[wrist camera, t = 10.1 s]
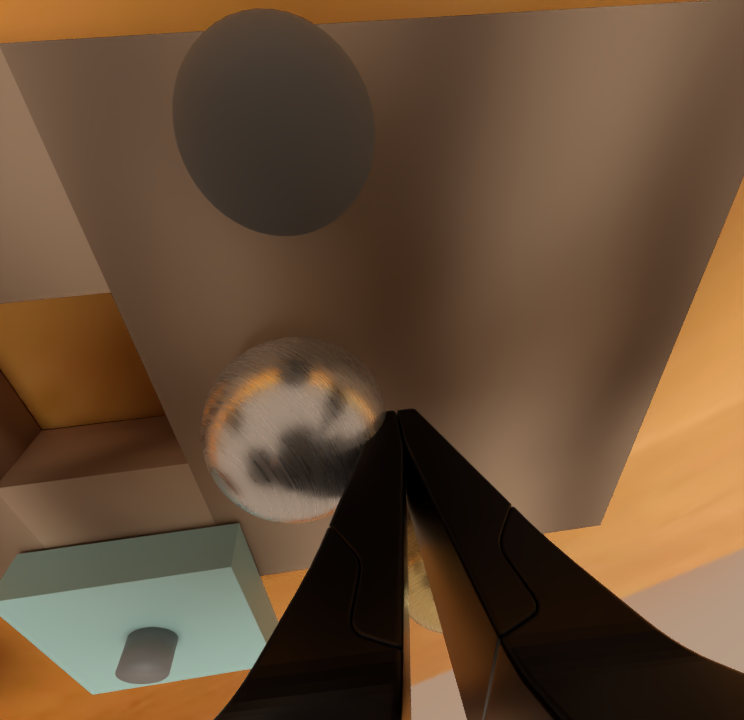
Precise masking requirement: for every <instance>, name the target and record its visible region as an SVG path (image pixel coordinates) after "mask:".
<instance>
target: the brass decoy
mask: <svg viewBox="0 0 744 720" xmlns="http://www.w3.org/2000/svg"><path fill="white" fill-rule="evenodd" d="M407 529H408V579H409V617H410V618H411V619H412V620H414V621H415V622H416V623H417V624H419V625H421V626H423V627H424V628H426V629H428V630H431V631H434V632H437V633H443V631H442V628H441V624H440V621H439V617H438V614H437V610H436V606H435V603H434V599H433V596H432V592H431V588H430V585H429V581H428V578H427V574H426V571H425V567H424V563H423V560H422V556H421V553H420V549H419V545H418V542H417V538H416V535H415V531H414V528H413V524H412V520H411V518H410V519H409V520H407Z"/></svg>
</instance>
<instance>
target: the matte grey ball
mask: <svg viewBox="0 0 744 720" xmlns="http://www.w3.org/2000/svg"><path fill="white" fill-rule="evenodd" d="M172 117H173V127H174V133H175V137H176V142H177V146H178V149H179V152H180V155H181V157H182V160H183V162H184V164H185V166H186V169H187V171H188V173H189V175H190V176H191V178H192V179H193V181H194V183H195V184H196V186H197V187H198V188H199V190H200V191H201V192H202V193H203V195H204V196H205V197H206V198H207V199H208V200H209V201H210V202H211V203H212V204H213V206H214V207H216V208H217V209H218V210H219V211H220V212H222V213H223V214H224V215H225V216H227V217H228V218H230V219H231V220H233V221H234V222H236V223H238V224H240V225H242V226H244V227H246V228H248V229H251V230H254V231H256V232H259V233H263V234H268V235H274V236H297V235H303V234H307V233H310V232H314V231H317V230H319V229H321V228H323V227H325V226H327V225H329V224H330V223H332V222H333V221H335V220H336V219H337V218H339V217H340V216H341V215H342V214H343V213H344V212H345V211H346V210H347V209H348V208H349V207H350V206H351V205H352V204H353V202H354V201H355V200H356V198H357V197H358V195H359V194H360V192H361V190H362V188H363V186H364V184H365V182H366V180H367V177H368V175H369V172H370V169H371V165H372V160H373V155H374V147H375V124H374V115H373V110H372V106H371V101H370V98H369V95H368V92H367V89H366V86H365V84H364V82H363V80H362V78H361V76H360V73H359V71H358V70H357V68H356V67H355V65H354V63H353V62H352V60H351V59H350V57H349V56H348V55H347V53H346V52H345V51H344V50H343V48H342V47H341V46H340V45H339V44H338V43H337V42H336V41H335V40H334V39H333V38H332V37H331V36H330V35H329V34H327V33H326V32H325V31H323V30H322V29H321V28H319V27H318V26H317V25H315V24H313V23H311V22H310V21H308V20H306V19H304V18H302V17H300V16H297V15H294V14H291V13H289V12H285V11H280V10H275V9H251V10H244V11H240V12H237V13H234V14H231V15H228V16H226V17H224V18H223V19H221V20H219V21H217V22H215V23H214V24H213V25H212V26H210V27H209V28H208V29H207V30H205V31H204V32H203V33H202V34H201V35H200V36H199V37H198V38H197V40H196V41H195V42H194V43H193V44H192V46H191V47H190V49H189V50H188V52H187V54H186V55H185V57H184V59H183V62H182V64H181V66H180V68H179V71H178V74H177V78H176V82H175V85H174V93H173V100H172Z"/></svg>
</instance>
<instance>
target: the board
mask: <svg viewBox="0 0 744 720" xmlns="http://www.w3.org/2000/svg"><path fill="white" fill-rule="evenodd" d="M315 25H317V26H318V27H319V28H321V29H322V30H323V31H325V32H326V33H327V34H329V35H330V36H331V37H332V38H333V39H334V40H335V41H336V42H337V43H338V44H339V45H340V46H341V47H342V48H343V50H344V51H345V52H346V53H347V55H348V56H349V57H350V59H351V60H352V62H353V63H354V65H355V67H356V68H357V70H358V71H359V73H360V76H361V78H362V80H363V82H364V84H365V86H366V89H367V92H368V95H369V98H370V101H371V106H372V110H373V115H374V124H375V147H374V155H373V160H372V165H371V169H370V172H369V175H368V177H367V180H366V182H365V184H364V186H363V188H362V190H361V192H360V194H359V195H358V197H357V198H356V200H355V201H354V202H353V204H352V205H351V206H350V207H349V208H348V209H347V210H346V211H345V212H344V213H343V214H342V215H341V216H340V217H339V218H337V219H336V220H335V221H333V222H332V223H330V224H329V225H327V226H325V227H323V228H321V229H319V230H317V231H314V232H310V233H307V234H303V235H297V236H274V235H268V234H263V233H259V232H256V231H254V230H251V229H248V228H246V227H244V226H242V225H240V224H238V223H236V222H234V221H233V220H231V219H230V218H228V217H227V216H225V215H224V214H223V213H222V212H220V211H219V210H218V209H217V208H216V207H214V206H213V204H212V203H211V202H210V201H209V200H208V199H207V198H206V197H205V196H204V195H203V193H202V192H201V191H200V190H199V188H198V187H197V186H196V184H195V183H194V181H193V179H192V178H191V176H190V175H189V173H188V171H187V169H186V166H185V164H184V162H183V160H182V157H181V155H180V152H179V149H178V146H177V142H176V137H175V133H174V127H173V117H172V100H173V93H174V85H175V82H176V78H177V74H178V71H179V68H180V66H181V64H182V62H183V59H184V57H185V55H186V54H187V52H188V50H189V49H190V47H191V46H192V44H193V43H194V42H195V41H196V40H197V38H198V37H199V36H200V35H201V34H202V33H203V32H204V31H197V32H181V33H164V34H148V35H131V36H115V37H98V38H82V39H65V40H49V41H32V42H16V43H0V304H2V303H12V302H21V301H31V300H41V299H51V298H61V297H71V296H81V295H91V294H101V293H111V294H112V296H113V299H114V301H115V303H116V305H117V307H118V310H119V312H120V314H121V316H122V319H123V321H124V323H125V325H126V327H127V330H128V332H129V334H130V336H131V339H132V341H133V343H134V345H135V347H136V350H137V352H138V354H139V356H140V358H141V361H142V363H143V365H144V367H145V370H146V372H147V374H148V376H149V378H150V381H151V383H152V385H153V387H154V390H155V392H156V394H157V396H158V398H159V401H160V403H161V405H162V407H163V409H164V412H165V414H166V416H159V417H150V418H142V419H134V420H126V421H118V422H109V423H101V424H93V425H85V426H76V427H68V428H60V429H52V430H43V431H42V430H41V429H40V427H39V426H38V425H37V423H36V422H35V420H34V419H33V417H32V416H31V415H30V413H29V412H28V410H27V409H26V407H25V406H24V404H23V403H22V402H21V400H20V399H19V397H18V396H17V394H16V393H15V391H14V390H13V389H12V387H11V386H10V384H9V383H8V381H7V380H6V378H5V377H4V376H3V374H2V373H1V371H0V580H1V578H2V577H3V575H4V574H5V572H6V571H7V569H8V568H9V566H10V565H11V563H12V562H13V560H14V559H15V557H16V555H17V554H22V553H29V552H36V551H44V550H51V549H58V548H65V547H72V546H79V545H86V544H93V543H101V542H108V541H115V540H122V539H129V538H136V537H143V536H151V535H158V534H165V533H172V532H179V531H186V530H193V529H200V528H208V527H215V526H222V525H229V524H236V523H239V524H240V527H241V529H242V532H243V534H244V537H245V539H246V542H247V545H248V547H249V550H250V552H251V555H252V557H253V560H254V562H255V565H256V567H257V570H258V572H259V575H260V576H262V575H269V574H276V573H283V572H289V571H296V570H303V569H309V568H310V566H311V563H312V561H313V559H314V557H315V555H316V553H317V551H318V549H319V546H320V544H321V542H322V540H323V537H324V535H325V533H326V530H327V528H329V524H330V521H331V519H332V517H333V514H332V515H330V516H327V517H324V518H321V519H319V520H315V521H310V522H305V523H290V524H289V523H279V522H272V521H269V520H265V519H261V518H259V517H256V516H254V515H252V514H250V513H248V512H246V511H244V510H243V509H241V508H240V507H238V506H237V505H235V504H234V503H233V502H232V501H231V500H229V499H228V498H227V496H226V495H225V494H224V493H223V492H222V491H221V490H220V489H219V487H218V486H217V484H216V483H215V481H214V480H213V478H212V476H211V475H210V473H209V470H208V468H207V465H206V462H205V460H204V456H203V451H202V446H201V421H202V414H203V410H204V406H205V403H206V400H207V398H208V395H209V393H210V391H211V389H212V387H213V385H214V384H215V382H216V380H217V379H218V377H219V376H220V375H221V374H222V372H223V371H224V370H225V369H226V368H227V366H228V365H229V364H231V363H232V362H233V361H234V360H235V359H236V358H237V357H239V356H240V355H242V354H243V353H244V352H246V351H247V350H249V349H251V348H253V347H255V346H257V345H259V344H261V343H264V342H267V341H270V340H274V339H278V338H283V337H311V338H317V339H321V340H324V341H327V342H330V343H333V344H335V345H337V346H339V347H341V348H343V349H345V350H346V351H348V352H350V353H351V354H352V355H354V356H355V357H356V358H357V359H358V360H360V361H361V362H362V363H363V364H364V366H365V367H366V368H367V369H368V370H369V371H370V373H371V374H372V376H373V377H374V379H375V380H376V382H377V384H378V386H379V388H380V390H381V392H382V395H383V398H384V401H385V405H386V409H387V411H392V410H393V411H395V412H396V415H397V411H398V410H401V409H410V408H414V409H416V410H417V411H418V412H419V413H420V414H421V415H422V416H423V417H424V418H425V419H426V420H427V421H428V422H429V423H430V424H431V425H432V426H433V427H434V428H435V429H436V430H437V431H438V432H439V433H440V434H441V435H442V436H443V437H444V438H445V439H446V440H447V441H448V442H449V443H450V444H451V445H452V446H453V447H454V448H455V449H456V450H457V451H458V452H459V453H460V454H461V455H462V456H463V457H464V458H465V459H466V460H467V461H468V462H469V463H470V464H472V465H473V466H474V467H475V468H476V469H477V470H478V471H479V472H480V473H481V474H482V475H483V476H484V477H485V478H486V479H487V480H488V481H489V482H490V483H491V484H492V485H493V486H494V487H495V488H496V489H497V490H498V491H499V492H500V493H501V494H502V495H503V496H504V497H505V498H506V499H507V500H508V501H509V502H510V503H511V505H512V507H515V508H516V509H517V510H518V511H519V512H520V513H521V514H522V515H523V516H524V517H525V518H526V519H527V520H528V521H529V522H530V523H531V524H532V525H534V526H535V527H536V528H537V529H538V530H539V531H540V532H541V533H542V534H544V533H551V532H557V531H564V530H571V529H577V528H584V527H591V526H597V525H600V524H601V522H602V519H603V517H604V515H605V512H606V510H607V507H608V505H609V502H610V500H611V497H612V495H613V493H614V490H615V488H616V485H617V483H618V480H619V478H620V476H621V473H622V471H623V468H624V466H625V463H626V461H627V459H628V456H629V454H630V451H631V449H632V446H633V444H634V442H635V439H636V437H637V434H638V432H639V429H640V427H641V425H642V422H643V420H644V417H645V415H646V412H647V410H648V408H649V405H650V403H651V400H652V398H653V395H654V393H655V391H656V388H657V386H658V383H659V381H660V378H661V376H662V374H663V371H664V369H665V366H666V364H667V361H668V359H669V356H670V354H671V352H672V349H673V347H674V344H675V342H676V339H677V337H678V335H679V332H680V330H681V327H682V325H683V322H684V320H685V318H686V315H687V313H688V310H689V308H690V305H691V303H692V301H693V298H694V296H695V293H696V291H697V288H698V286H699V284H700V281H701V279H702V276H703V274H704V271H705V269H706V267H707V264H708V262H709V259H710V257H711V254H712V252H713V250H714V247H715V245H716V242H717V240H718V237H719V235H720V233H721V230H722V228H723V225H724V223H725V220H726V218H727V215H728V213H729V211H730V208H731V206H732V203H733V201H734V198H735V196H736V194H737V191H738V189H739V186H740V184H741V181H742V179H743V177H744V0H708V1H692V2H675V3H659V4H643V5H626V6H610V7H593V8H577V9H560V10H544V11H527V12H511V13H494V14H478V15H461V16H445V17H428V18H412V19H395V20H379V21H362V22H346V23H329V24H315ZM406 502H407V498H406ZM410 518H411V517H410V513H409V509H408V503H407V520H409V519H410Z"/></svg>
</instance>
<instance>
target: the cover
mask: <svg viewBox="0 0 744 720" xmlns="http://www.w3.org/2000/svg"><path fill="white" fill-rule="evenodd" d="M0 616H1V617H2V618H3V619H4V620H5V621H7V622H8V623H9V624H10V625H11V626H13V627H14V628H15V629H16V630H17V631H18V632H20V633H21V634H22V635H23V636H24V637H25V638H27V639H28V640H29V641H30V642H31V643H32V644H34V645H35V646H36V647H37V648H38V649H39V650H41V651H42V652H43V653H44V654H45V655H47V656H48V657H49V658H50V659H51V660H52V661H54V662H55V663H56V664H57V665H58V666H59V667H61V668H62V669H63V670H64V671H65V672H66V673H68V674H69V675H70V676H71V677H72V678H74V679H75V680H76V681H77V682H78V683H79V684H81V685H82V686H83V687H84V688H85V689H86V690H88V691H89V692H90V693H91V694H92V695H94V694H100V693H106V692H112V691H118V690H124V689H130V688H136V687H142V686H149V685H155V684H161V683H167V682H173V681H179V680H185V679H191V678H197V677H203V676H210V675H216V674H222V673H228V672H234V671H240V670H246V669H252V667H253V665H254V664H255V662H256V660H257V659H258V657H259V655H260V653H261V652H262V650H263V648H264V647H265V645H266V643H267V642H268V640H269V638H270V636H271V635H272V633H273V631H274V630H275V628H276V626H277V624H278V620H277V618H276V615H275V613H274V610H273V608H272V605H271V602H270V600H269V597H268V595H267V592H266V590H265V587H264V585H263V582H262V580H261V577H260V575H259V572H258V570H257V567H256V565H255V562H254V560H253V557H252V555H251V552H250V550H249V547H248V545H247V542H246V539H245V537H244V534H243V532H242V529H241V527H240V524H239V523H236V524H229V525H222V526H215V527H208V528H200V529H193V530H186V531H179V532H172V533H165V534H158V535H151V536H143V537H136V538H129V539H122V540H115V541H108V542H101V543H93V544H86V545H79V546H72V547H65V548H58V549H51V550H44V551H36V552H29V553H22V554H17V555H16V557H15V559H14V560H13V562H12V563H11V565H10V566H9V568H8V569H7V571H6V572H5V574H4V575H3V577H2V578H1V580H0Z"/></svg>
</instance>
